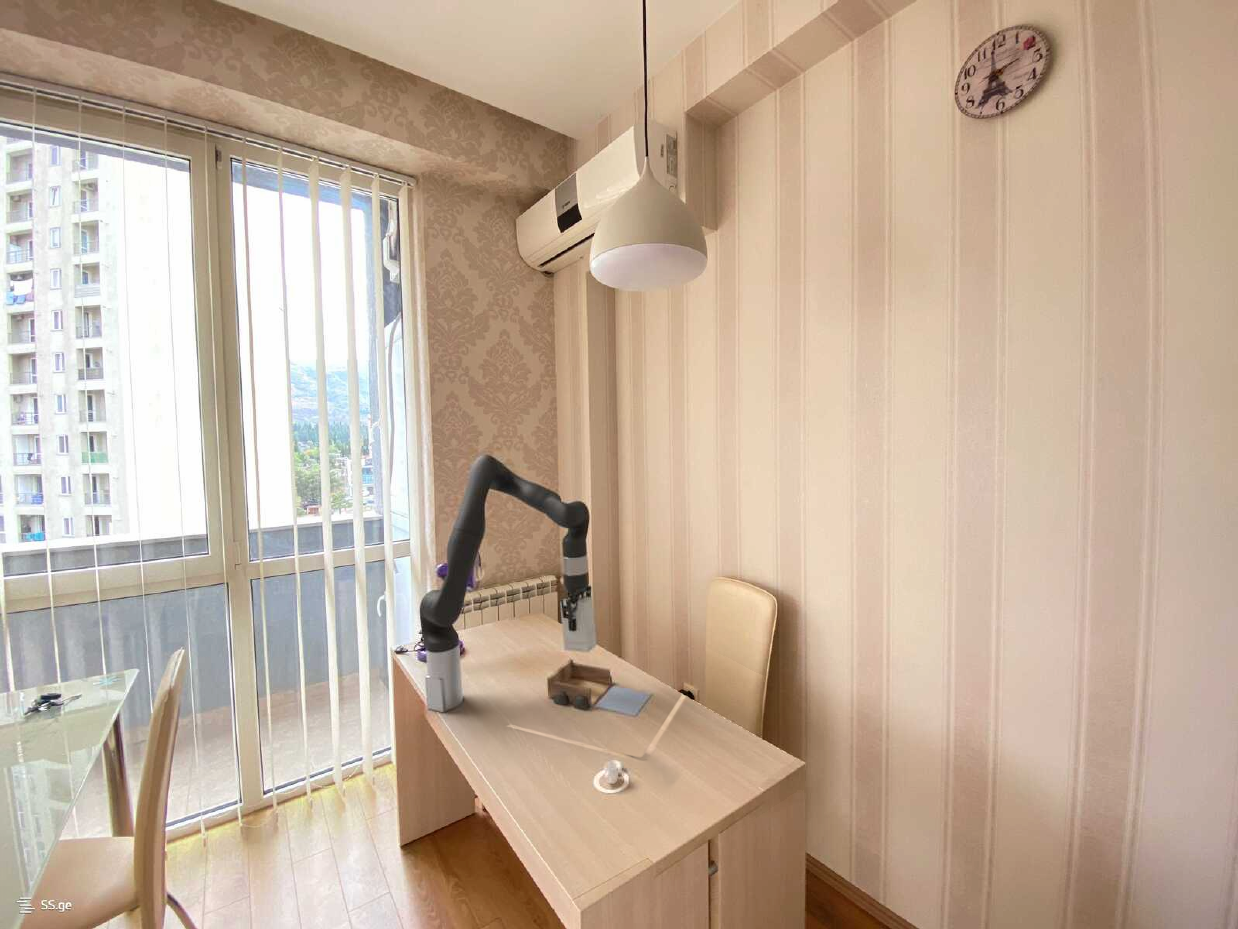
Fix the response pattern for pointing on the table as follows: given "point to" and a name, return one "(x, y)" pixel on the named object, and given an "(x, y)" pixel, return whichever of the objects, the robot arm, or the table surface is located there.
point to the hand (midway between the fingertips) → (578, 626)
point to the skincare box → (580, 628)
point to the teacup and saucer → (611, 776)
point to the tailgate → (623, 701)
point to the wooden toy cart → (578, 684)
